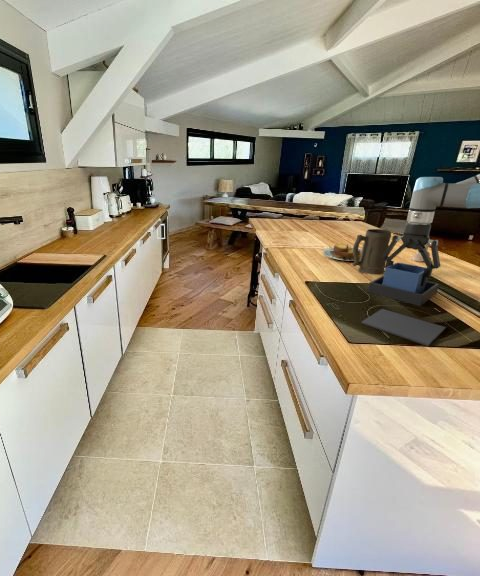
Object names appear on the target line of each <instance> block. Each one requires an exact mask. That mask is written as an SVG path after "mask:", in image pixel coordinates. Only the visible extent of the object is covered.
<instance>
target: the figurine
mask: <svg viewBox="0 0 480 576" xmlns="http://www.w3.org/2000/svg"><path fill="white" fill-rule="evenodd" d="M429 240H431V239H430V237H429ZM425 247H426V251H427V253H428V255H429V257H430V259H431V260H432V256H431V253H430V252H429V251H428V250H429V248H430V247H431V246H430V244H429V243H427V244H426V245H425ZM412 260H413V261H414V262H424V260H423V257H422V255H421V253H420V252H419V250H418V249H417V251H416V252H415V253H414V255H413V256H412Z"/></svg>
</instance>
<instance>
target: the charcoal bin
mask: <svg viewBox="0 0 480 576" xmlns="http://www.w3.org/2000/svg"><path fill="white" fill-rule="evenodd" d="M383 279H384V275H382V276H380V277H378V278H376V279H374V280H372V281H370V282H369V284H368V289H367V293H369V294H372V295H373V294H374V295H377V296H381V297H385V298H389V299H393V300H396V301H399V302H402V303H403V302H404V303H407V304H411V305H414V306H418V307H421V306H423V305H424V304H426V302H428V301H429V300H430V299H432V298H433V297H435V296H436V295H437V293H438V290H439V286H440V283H437V282H431V281H428V280H427V282H426V286H425V289H424V293H422V294H418V293H414V292H410V291H406V290H402V289H398V288H394V287H389V286H385V285H382V284H383Z"/></svg>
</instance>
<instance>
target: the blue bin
mask: <svg viewBox="0 0 480 576" xmlns="http://www.w3.org/2000/svg"><path fill="white" fill-rule="evenodd" d="M425 268H426V266H425V267H424V266H420V265H415V264H408V263H403V262H394V263H393V265H391V266H389V267H386V269H384V273H383V274H384V275H383V276H384V279H383V284H382V285H385V286H389V287H394V288H398V289H402V290H406V291H410V292H414V293H418V294H422V293H424V289H425V286H426V283H425V285H424V286H420V285H421V281H422V277H423V273H424V269H425ZM427 281H428V278H427V279H426V282H427Z"/></svg>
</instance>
